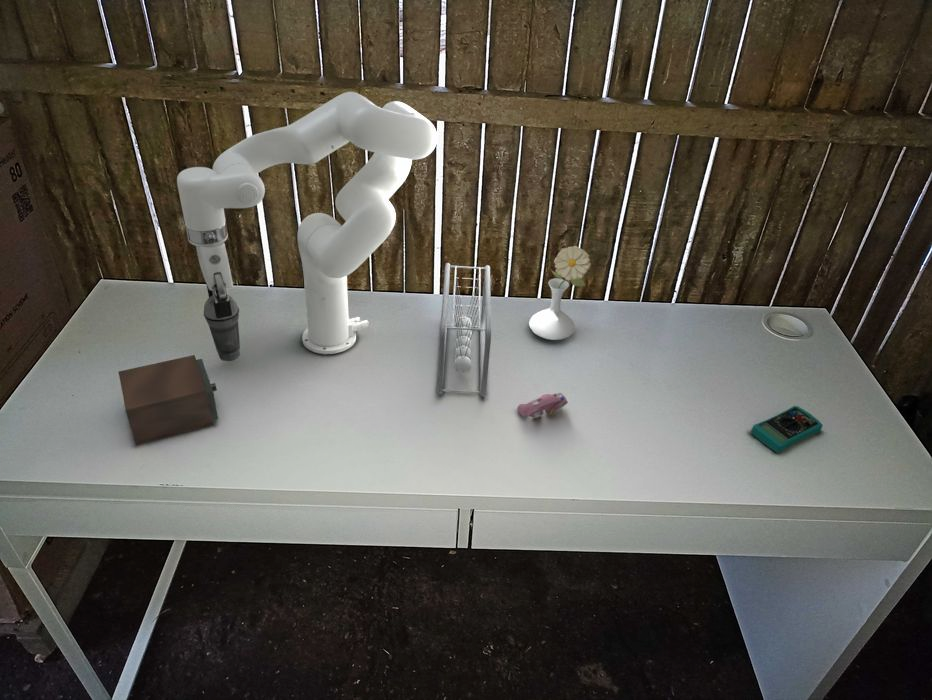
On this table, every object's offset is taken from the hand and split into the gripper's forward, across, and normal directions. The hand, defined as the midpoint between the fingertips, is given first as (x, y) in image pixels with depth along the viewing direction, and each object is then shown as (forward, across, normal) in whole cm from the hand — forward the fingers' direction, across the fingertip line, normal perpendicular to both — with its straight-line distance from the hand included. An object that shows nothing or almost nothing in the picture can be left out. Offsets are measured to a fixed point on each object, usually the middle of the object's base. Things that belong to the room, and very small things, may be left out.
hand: (220, 306), depth 152 cm
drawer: (+15, -12, +12) cm, 23 cm away
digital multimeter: (+16, -67, -102) cm, 123 cm away
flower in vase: (+16, -16, -75) cm, 79 cm away
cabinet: (+15, -12, +15) cm, 25 cm away
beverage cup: (+13, 0, 0) cm, 13 cm away
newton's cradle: (+16, -17, -49) cm, 55 cm away
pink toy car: (+16, -41, -57) cm, 72 cm away
